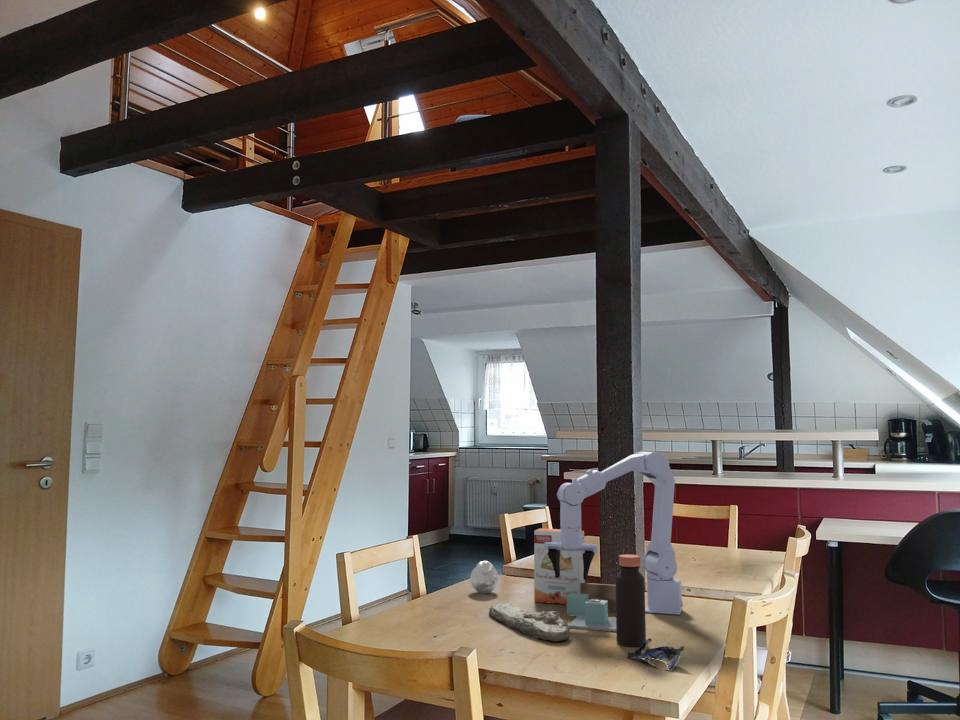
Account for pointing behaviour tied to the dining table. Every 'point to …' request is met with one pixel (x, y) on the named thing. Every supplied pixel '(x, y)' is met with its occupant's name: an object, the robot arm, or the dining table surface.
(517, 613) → the elongated rock
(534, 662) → the dining table surface
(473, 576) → the grey egg-shaped stone
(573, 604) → the blank cube
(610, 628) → the slate tile
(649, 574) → the robot arm
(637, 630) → the bottle
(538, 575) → the cracker box
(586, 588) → the walnut screen
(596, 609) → the lettered cube
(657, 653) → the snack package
